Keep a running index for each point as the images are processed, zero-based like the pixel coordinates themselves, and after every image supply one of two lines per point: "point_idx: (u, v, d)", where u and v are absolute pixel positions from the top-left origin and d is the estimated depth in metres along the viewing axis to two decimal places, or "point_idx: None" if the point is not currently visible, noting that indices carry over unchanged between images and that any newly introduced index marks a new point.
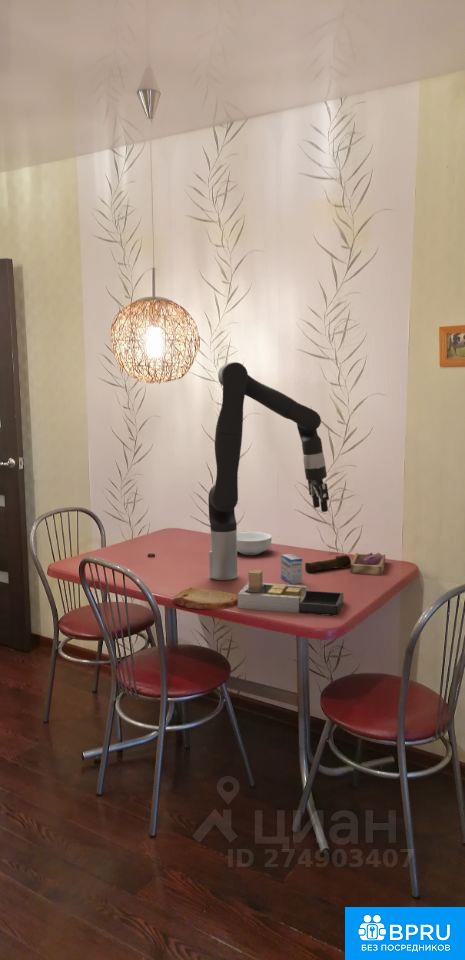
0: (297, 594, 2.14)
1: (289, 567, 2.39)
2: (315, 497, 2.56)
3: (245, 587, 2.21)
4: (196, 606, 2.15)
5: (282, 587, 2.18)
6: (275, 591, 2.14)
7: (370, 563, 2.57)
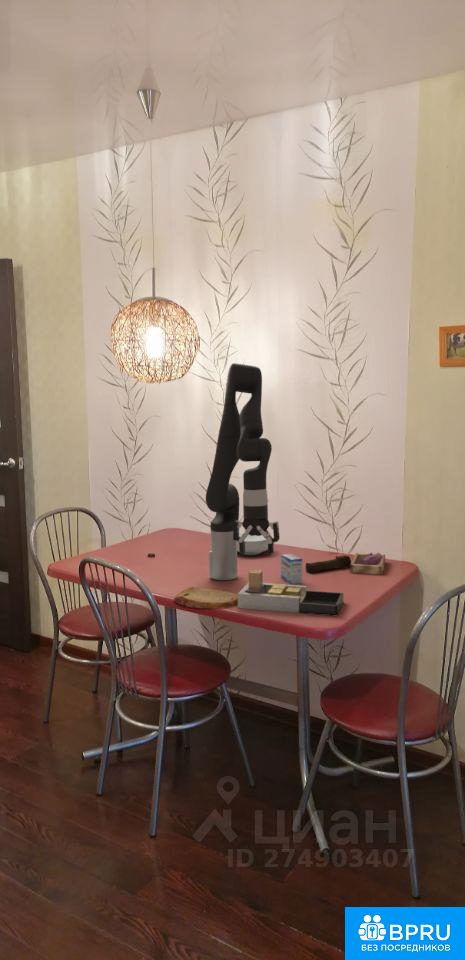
0: (297, 594, 2.14)
1: (289, 567, 2.39)
2: (243, 542, 2.18)
3: (245, 587, 2.21)
4: (195, 606, 2.16)
5: (282, 587, 2.18)
6: (275, 591, 2.14)
7: (370, 563, 2.57)
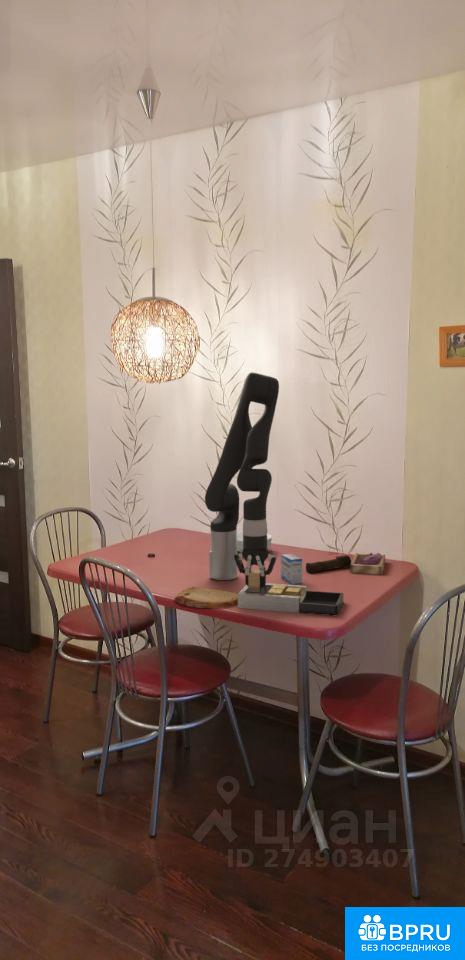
0: (297, 594, 2.14)
1: (289, 567, 2.39)
2: None
3: (245, 587, 2.21)
4: (195, 605, 2.16)
5: (282, 587, 2.18)
6: (275, 591, 2.14)
7: (370, 563, 2.57)
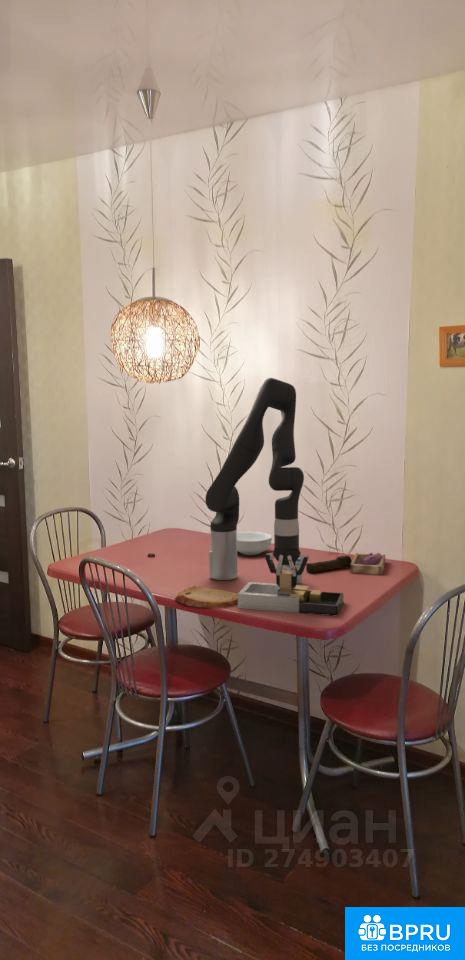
0: None
1: (289, 567, 2.39)
2: None
3: (245, 587, 2.21)
4: (195, 605, 2.17)
5: (304, 588, 2.17)
6: (297, 593, 2.12)
7: (370, 563, 2.57)
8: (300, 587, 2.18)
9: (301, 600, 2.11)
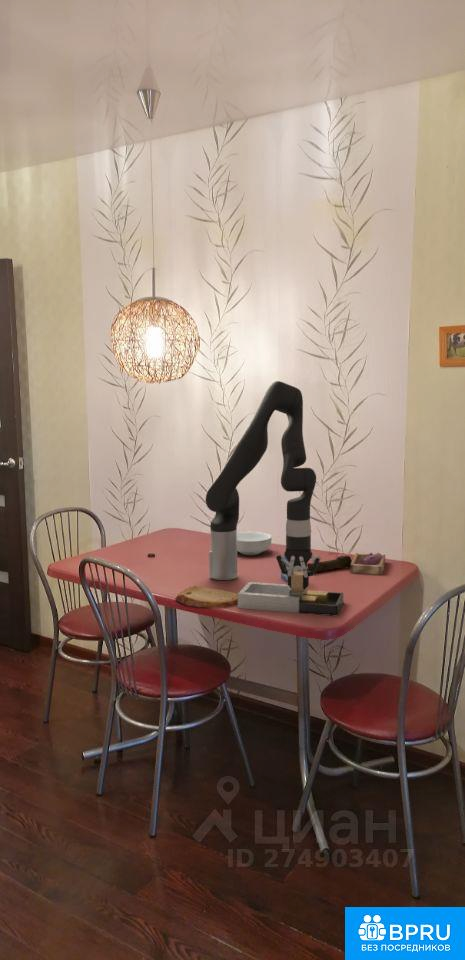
0: None
1: None
2: None
3: (245, 587, 2.21)
4: (195, 604, 2.17)
5: (316, 593, 2.16)
6: (309, 599, 2.11)
7: (370, 563, 2.57)
8: (311, 592, 2.17)
9: None
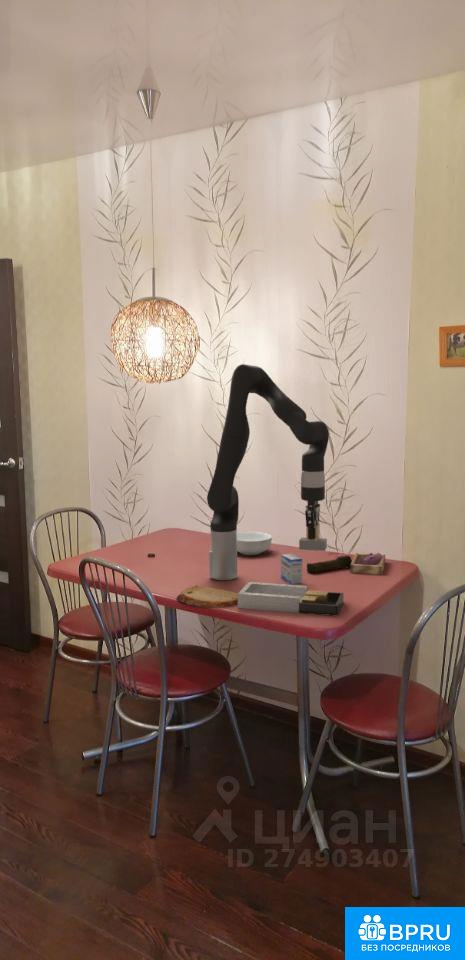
0: None
1: (289, 567, 2.39)
2: None
3: (245, 587, 2.21)
4: (195, 604, 2.18)
5: (316, 593, 2.16)
6: (309, 599, 2.11)
7: (370, 563, 2.57)
8: (311, 592, 2.17)
9: None
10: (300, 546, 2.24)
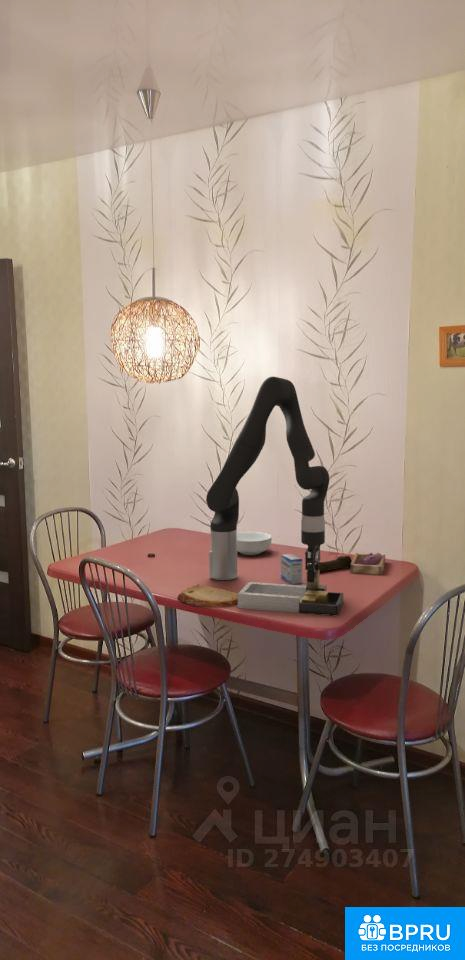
0: None
1: (289, 567, 2.39)
2: None
3: (245, 587, 2.21)
4: (195, 603, 2.18)
5: (316, 593, 2.16)
6: (309, 599, 2.11)
7: (370, 563, 2.57)
8: (311, 592, 2.17)
9: None
10: None
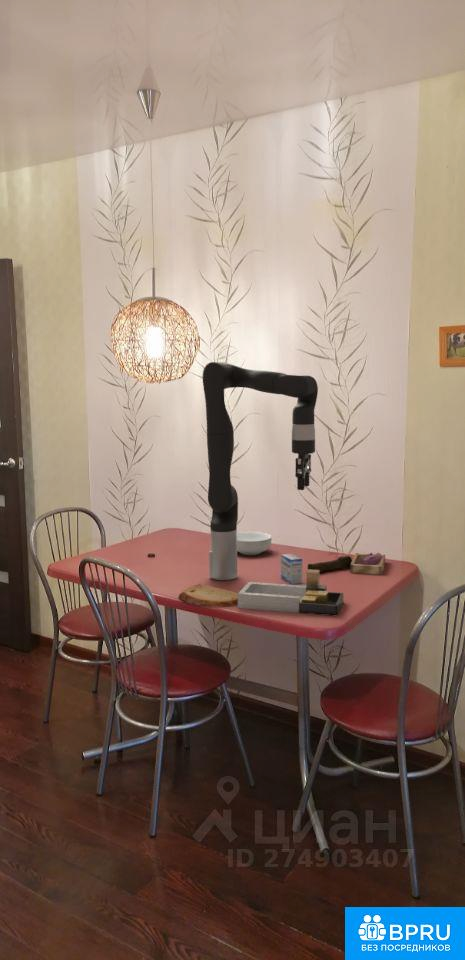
0: None
1: (289, 567, 2.39)
2: None
3: (245, 587, 2.21)
4: (195, 603, 2.19)
5: (316, 593, 2.16)
6: (309, 599, 2.11)
7: (370, 563, 2.57)
8: (311, 592, 2.17)
9: None
10: None
